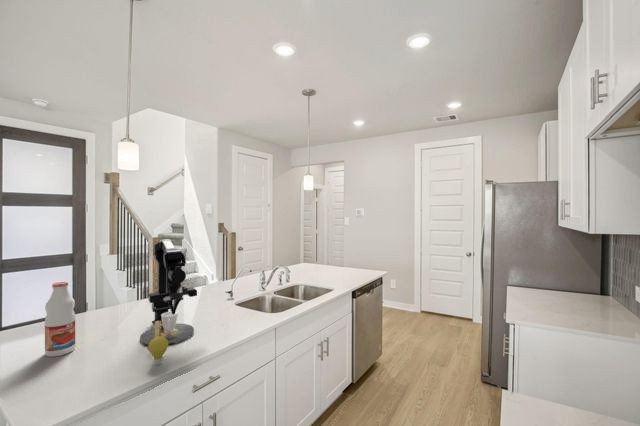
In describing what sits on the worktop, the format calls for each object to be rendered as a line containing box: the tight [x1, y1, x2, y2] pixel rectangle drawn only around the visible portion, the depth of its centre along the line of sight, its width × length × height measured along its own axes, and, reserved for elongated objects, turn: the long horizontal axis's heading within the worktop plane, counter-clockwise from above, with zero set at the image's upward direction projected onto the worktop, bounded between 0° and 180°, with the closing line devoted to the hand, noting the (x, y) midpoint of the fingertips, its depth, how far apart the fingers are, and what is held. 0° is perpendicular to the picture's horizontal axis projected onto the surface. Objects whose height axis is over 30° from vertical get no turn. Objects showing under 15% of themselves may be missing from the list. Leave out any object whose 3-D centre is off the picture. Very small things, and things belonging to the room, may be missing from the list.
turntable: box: [139, 321, 195, 346], centre depth 138 cm, size 22×22×10 cm
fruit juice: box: [44, 281, 76, 358], centre depth 122 cm, size 9×9×28 cm
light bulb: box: [147, 336, 169, 366], centre depth 113 cm, size 7×7×10 cm
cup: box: [161, 311, 178, 333], centre depth 138 cm, size 7×10×8 cm
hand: (173, 314), depth 132 cm, fingers closed
